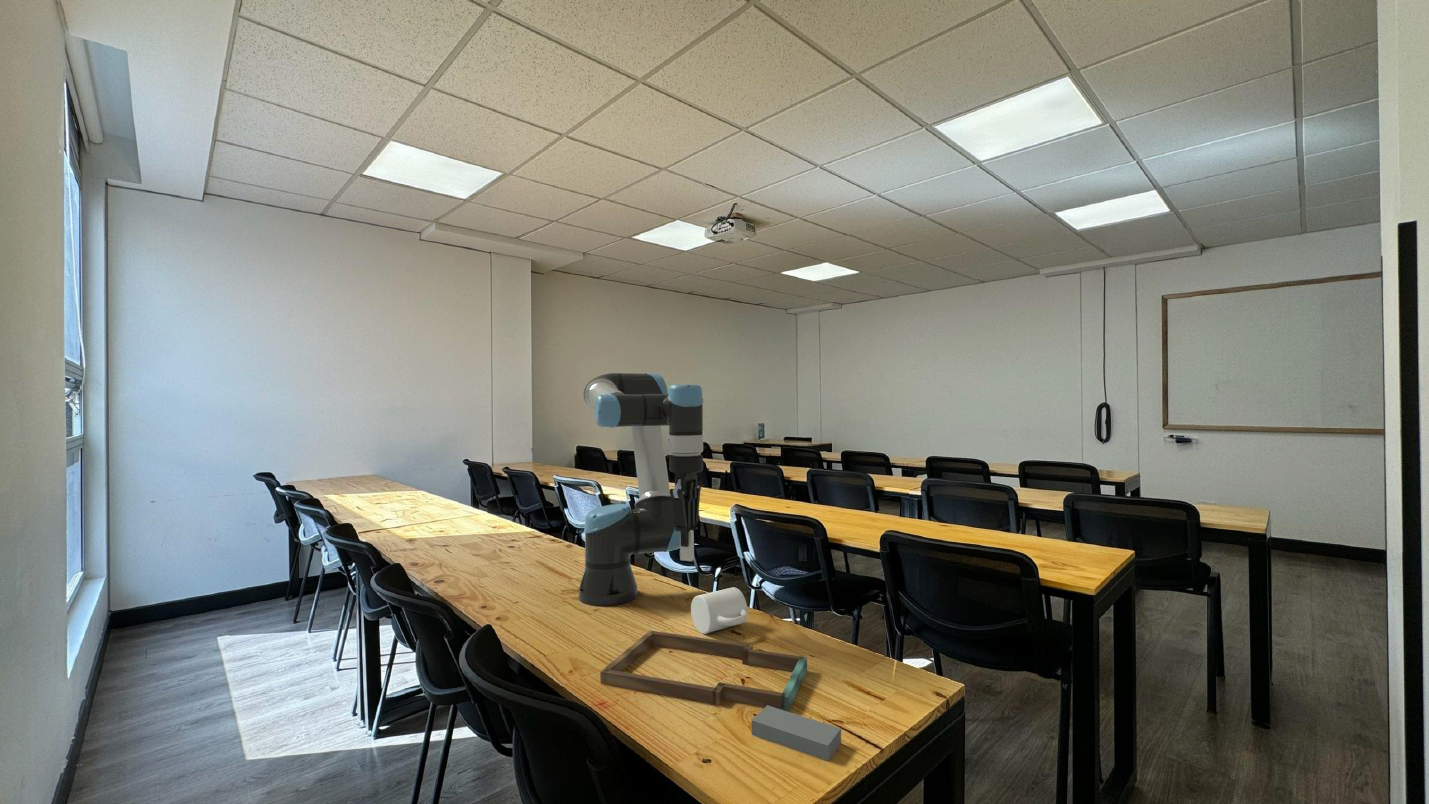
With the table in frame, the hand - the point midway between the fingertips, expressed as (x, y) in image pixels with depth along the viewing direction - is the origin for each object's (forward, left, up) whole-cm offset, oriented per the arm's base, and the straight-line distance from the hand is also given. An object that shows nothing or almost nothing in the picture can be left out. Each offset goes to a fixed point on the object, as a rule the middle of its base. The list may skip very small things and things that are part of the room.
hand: (687, 559), depth 128 cm
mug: (-1, +8, -15) cm, 17 cm away
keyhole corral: (+20, +7, -15) cm, 26 cm away
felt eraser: (+35, +32, -15) cm, 50 cm away
